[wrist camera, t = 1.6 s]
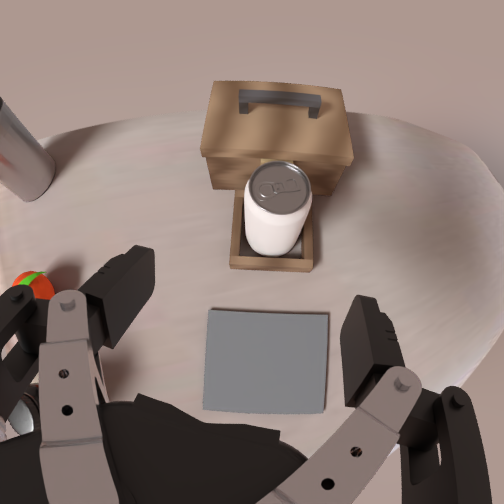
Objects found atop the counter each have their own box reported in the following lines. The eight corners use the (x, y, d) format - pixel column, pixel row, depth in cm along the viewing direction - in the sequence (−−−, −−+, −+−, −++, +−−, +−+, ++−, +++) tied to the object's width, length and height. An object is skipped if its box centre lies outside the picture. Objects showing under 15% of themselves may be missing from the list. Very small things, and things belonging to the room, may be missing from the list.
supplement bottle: (50, 402, 30) (-6, 412, 18) (67, 369, 32) (9, 371, 20) (83, 435, 29) (31, 458, 17) (103, 402, 31) (49, 419, 19)
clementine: (54, 262, 36) (25, 248, 29) (76, 296, 35) (46, 286, 28) (25, 299, 34) (-5, 290, 27) (45, 334, 33) (14, 330, 26)
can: (240, 217, 38) (235, 164, 26) (288, 205, 38) (301, 151, 27) (253, 264, 36) (254, 227, 25) (303, 250, 37) (326, 209, 25)
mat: (203, 408, 31) (202, 409, 30) (209, 310, 34) (208, 309, 34) (322, 412, 31) (323, 413, 30) (326, 315, 34) (327, 314, 34)
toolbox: (202, 267, 36) (178, 229, 24) (219, 126, 42) (211, 63, 30) (336, 273, 36) (375, 239, 24) (327, 133, 42) (346, 73, 30)
